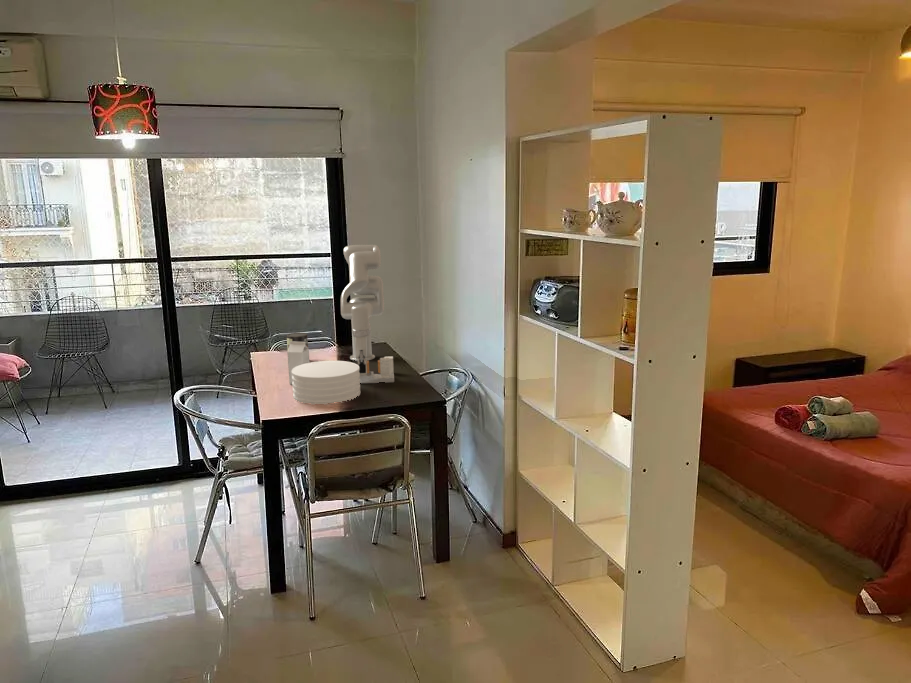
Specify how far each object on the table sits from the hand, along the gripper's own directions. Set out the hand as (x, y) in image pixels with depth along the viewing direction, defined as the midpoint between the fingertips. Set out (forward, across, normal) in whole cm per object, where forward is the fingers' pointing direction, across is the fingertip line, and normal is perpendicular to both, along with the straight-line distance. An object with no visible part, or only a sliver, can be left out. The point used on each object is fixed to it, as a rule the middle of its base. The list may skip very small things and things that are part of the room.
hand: (362, 370), depth 307 cm
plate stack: (+5, +18, -15) cm, 24 cm away
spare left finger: (+5, -10, +12) cm, 17 cm away
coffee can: (+5, -42, -33) cm, 53 cm away
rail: (+5, 0, +2) cm, 5 cm away
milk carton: (+5, -2, -28) cm, 29 cm away
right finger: (+3, 0, 0) cm, 3 cm away
